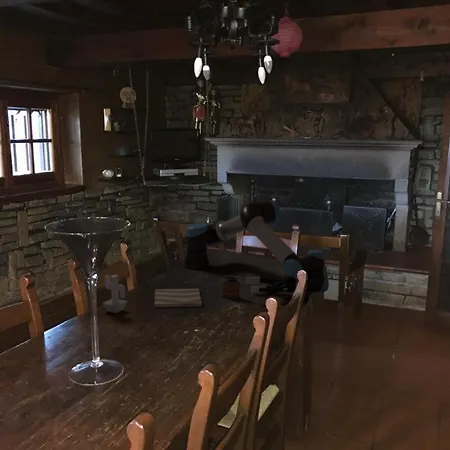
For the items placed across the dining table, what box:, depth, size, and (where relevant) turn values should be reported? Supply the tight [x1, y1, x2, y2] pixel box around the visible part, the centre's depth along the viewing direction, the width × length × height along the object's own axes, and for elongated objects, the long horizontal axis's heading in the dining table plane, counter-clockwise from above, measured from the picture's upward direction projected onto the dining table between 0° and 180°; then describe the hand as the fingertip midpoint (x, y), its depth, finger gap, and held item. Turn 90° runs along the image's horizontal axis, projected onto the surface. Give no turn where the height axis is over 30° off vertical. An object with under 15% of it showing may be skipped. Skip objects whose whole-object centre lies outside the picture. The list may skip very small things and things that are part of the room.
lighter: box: [221, 275, 241, 299], centre depth 227 cm, size 8×3×10 cm, turn 84°
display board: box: [154, 288, 203, 308], centre depth 223 cm, size 20×20×2 cm
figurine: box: [102, 274, 128, 314], centre depth 206 cm, size 7×9×15 cm
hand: (248, 284), depth 227 cm, fingers open, 13 cm apart
